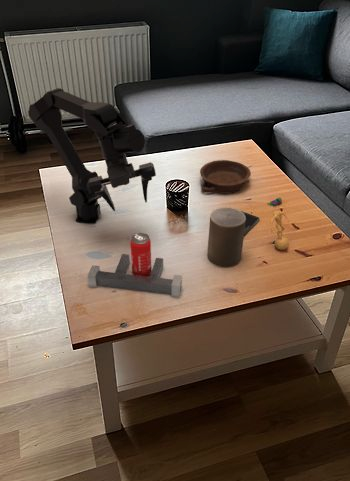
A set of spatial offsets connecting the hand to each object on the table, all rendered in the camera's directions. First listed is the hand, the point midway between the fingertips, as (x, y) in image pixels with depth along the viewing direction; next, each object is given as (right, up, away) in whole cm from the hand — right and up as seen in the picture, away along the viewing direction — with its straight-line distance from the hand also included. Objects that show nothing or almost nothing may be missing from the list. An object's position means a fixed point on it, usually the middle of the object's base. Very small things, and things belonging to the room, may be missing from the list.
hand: (130, 206), depth 135 cm
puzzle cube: (+46, +2, +24) cm, 52 cm away
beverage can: (+4, -19, -4) cm, 19 cm away
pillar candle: (+27, -14, +2) cm, 30 cm away
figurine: (+43, -12, +6) cm, 44 cm away
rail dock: (+3, -20, -6) cm, 21 cm away
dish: (+30, +10, +35) cm, 47 cm away
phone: (+32, -6, +14) cm, 35 cm away
